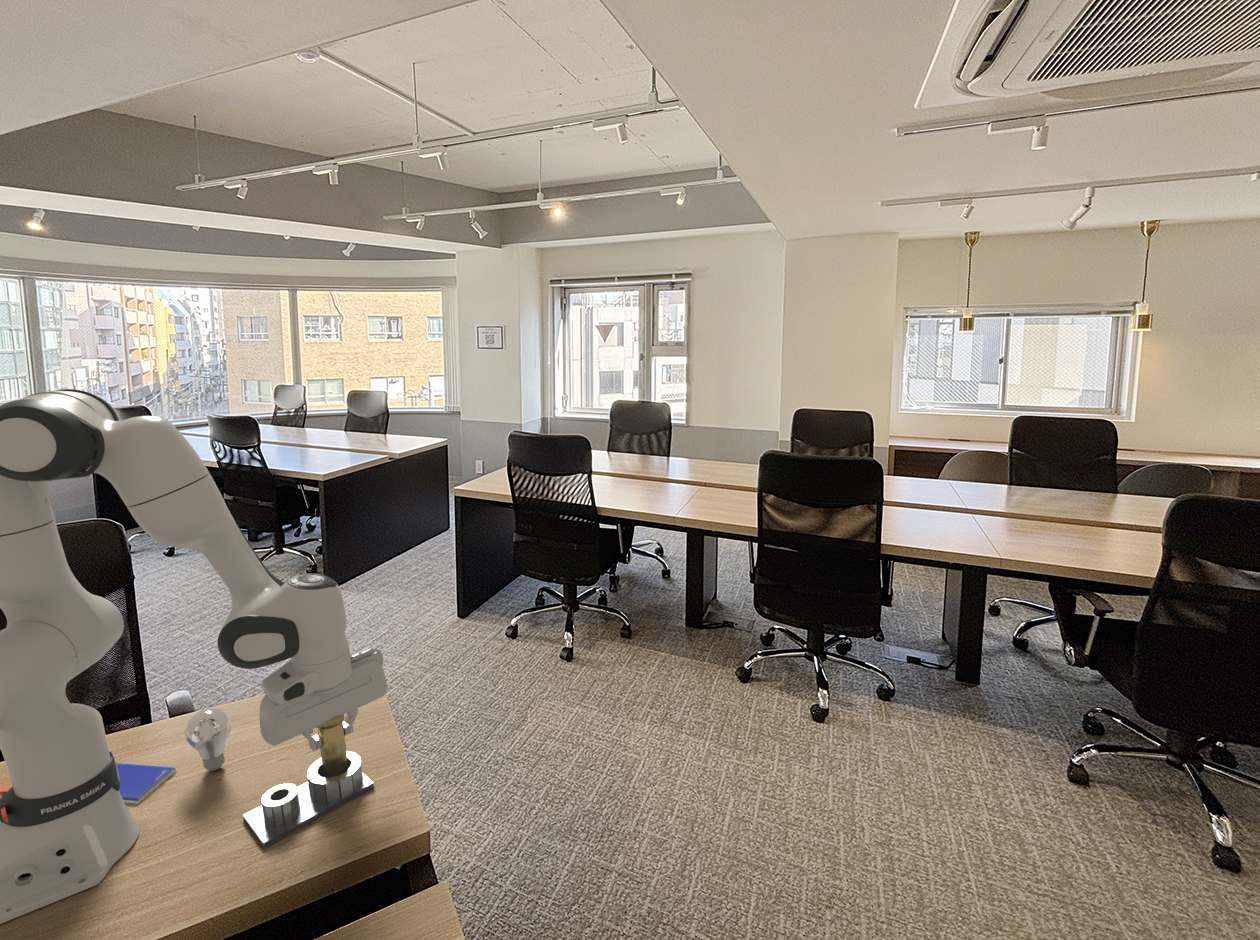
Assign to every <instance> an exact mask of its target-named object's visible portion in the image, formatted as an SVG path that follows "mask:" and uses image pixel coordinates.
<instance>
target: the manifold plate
mask: <svg viewBox="0 0 1260 940" xmlns="http://www.w3.org/2000/svg"><path fill="white" fill-rule="evenodd" d="M346 751H347V759H348V765H347V766H346V768H344V769H343V770H342V771H340V772H337V773H333V774H327V773H325V772H324V771H323V767H322V760H321V757H320V758H318V759H316V760H315V761H314V762H313V763H312V764H311V765H310V766H309V768H308V770H307V775H306V779H307V781H306V782H304V783H303V784H300V785H299V786H296V784H294V783H288V782H287V783H286V782H285V783H283V784H278V785H275V786H273V787H272V788H270V789H268V790H267V791H266V792H265V793H264V794H263V795H262V797H261V800H260V801H261V802H260V803H261V805H259V806H258V807H257V806H256V807H255V808H253V809H251V810H249V811H247V812H245V813H243V814H242V818H243V822H245V824H246V825H247V826H248V828H249V830H250V832H251V833H252V834H253V835H254V837H255V838H256V840H257V841H258V842H259V843H260V845H261V846H262V848H263V849H266V848H268V847H270V846H272V845H273V844H275V843H277V842H279V841H280V840H282V839H284V838H286V837H288V836H289V835H291V834H293V833H295V832H297V831H298V830H300V829H302V828H304V827H306V826H308V825H309V824H312V823H314V822H315V821H316V820H318V819H320V818H322V817H324V816H325V815H328V814H329V813H331V812H333V811H335V810H336V809H338V808H341V806H344V805H345V804H347V803H349V802H350V801H352V800H354V799H356V798H359V796H361V795H364V794H365V793H367V792H369V791H370V790H372V789H374V788H375V783H374V781H372V780H371V779H370V778H369V776H367V775H366V774H365V773H364V772H363V765H362V758H361V756H360V755H358V754H357V753H356V752H354V751H348V750H346Z"/></svg>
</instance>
